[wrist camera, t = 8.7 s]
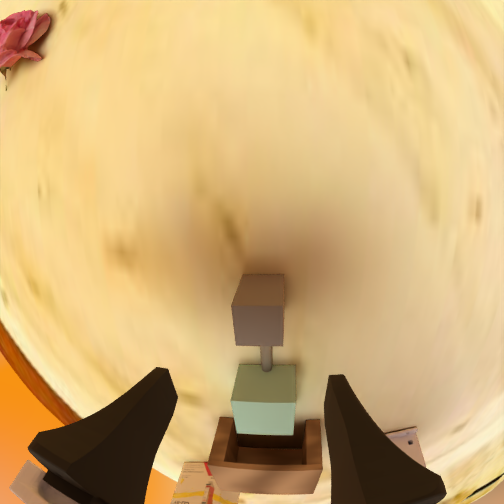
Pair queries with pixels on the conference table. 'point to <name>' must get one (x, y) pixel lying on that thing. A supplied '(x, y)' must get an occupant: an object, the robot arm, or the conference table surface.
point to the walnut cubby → (265, 463)
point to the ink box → (200, 487)
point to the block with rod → (262, 359)
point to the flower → (20, 37)
